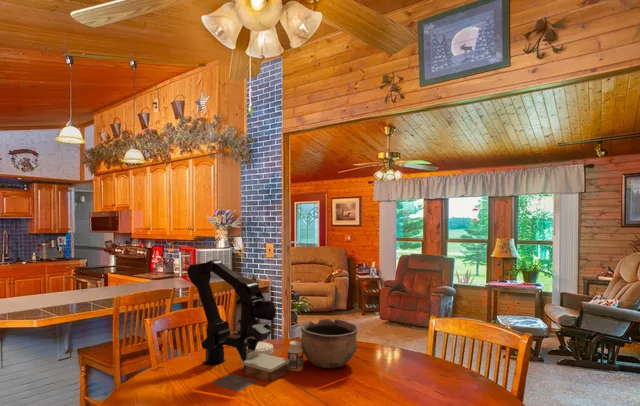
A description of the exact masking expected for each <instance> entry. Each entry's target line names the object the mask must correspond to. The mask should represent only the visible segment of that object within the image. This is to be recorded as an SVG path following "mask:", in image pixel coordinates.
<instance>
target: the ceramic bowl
mask: <svg viewBox="0 0 640 406" xmlns="http://www.w3.org/2000/svg"><path fill="white" fill-rule="evenodd" d="M299 327H300V331H301V333H302V334H301V338H300V342H302V347H301V348H302V349H303V355H304V356H305V358H306V359H307V360H308V361H309V362H310V363H311V364H312V365H314V366H315V367H319V368H322V369H333V368H334V369H336V368H340V367H342V366H344V365H346V364H347V363H348V362H349V361H350V360H352V358H353V356H354V355H355V354H356V352H357V348H358V339H357V333H358V331H359V327H358V325H357V324H355V323H353V322H349V321H347V320H342V319H338V318H337V319H334V320H331V318H322V319H321V318H320V319H319V320H318V322H317V323H315V322H313V321H312V320H308V321H305V322H302V323H301V325H300V326H299Z"/></svg>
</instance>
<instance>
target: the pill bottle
mask: <svg viewBox="0 0 640 406" xmlns="http://www.w3.org/2000/svg"><path fill="white" fill-rule="evenodd" d="M301 347H302V342H301V340H291V341H289V348H288V349H287V359H289V360H290V363H288V370H289V371H292V372H300V371H302V370H303V369H304V353H303V349H302V348H301Z"/></svg>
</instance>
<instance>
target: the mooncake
mask: <svg viewBox="0 0 640 406" xmlns="http://www.w3.org/2000/svg"><path fill="white" fill-rule="evenodd" d="M247 349H248V347H247ZM261 353H262V354H267V355H272V354H273V353H274V345H273V344H271V343H268V342H266V341H260V342H258V344H257V346H256V349H255V356H256V355H258V354H261Z"/></svg>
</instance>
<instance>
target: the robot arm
mask: <svg viewBox="0 0 640 406" xmlns="http://www.w3.org/2000/svg"><path fill="white" fill-rule="evenodd" d="M186 272H187V273H186V274H187V277H188V279H189V281H190V282H191V283H192V284H193V285H194V286H195V287H196V290H197V293H198V295H199V299H200V302H201V306H202V309H203V311H204V315H205V317H206V321H207V327H206V336H207V337H206V338H205V339H204V340H203V341H201V347H202V349H204V350H205V360H204V361H202V364H204V365H208V366H212V367H213V366H217V365H221V364H222V363H224V362H225V351H224V346H228V347H233V348H236V350H237V352H238V354H239V358H240V357H241V359H242V360H241V362H242V361H245V360H246V350H247V347H248V349H251V350H255V349H256V346H257V344H258V342H264V340H268V337H269V335H271V334H272V326H271V324H270V323H266V324H260V320H265V321H273V320H274V319H275V316H276V315H277V314H276V312H277V308H276V306H275V304H274V301H273V300H266V299H265V297H264V295H263V293H262V291H261V289H260V285H259V284H258V283H257V282H256V281H253V280H252V279H250V278H245V277H243V276H241V275H239V274H238V273H236V272H235V271H234V270H232V269H231V268H230V267H228V266H227V265H226V264H224V263H223V262H222V261H221V260H219V259H214V260H213V259H212V260H209V261H207V262H201V263H193V264H190V265H189V267H188V268H187V270H186ZM211 273H213V274H215V275H217V276H218V277H219V278H220V279H221V280H223V281H224V282H225V283H227V284H228V285H230V286H231V287H232V288H233V290H234V293H235V294H236V295H237V297H239V298H238V300H236V301H235V304H236V305H240V317H239V318H240V319H238V320H237V323H238V324H240V326H239V330H237V335H236V334H231V331H232V330H231V328H230V326H229V325H230V324H229V321H228V320H223V319H222V318H221V314H220V311H219V309H218V306H217V303H216V300H215V296H214V294H213V290H212V287H211V283H210V282H211V277H212V276H211Z"/></svg>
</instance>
